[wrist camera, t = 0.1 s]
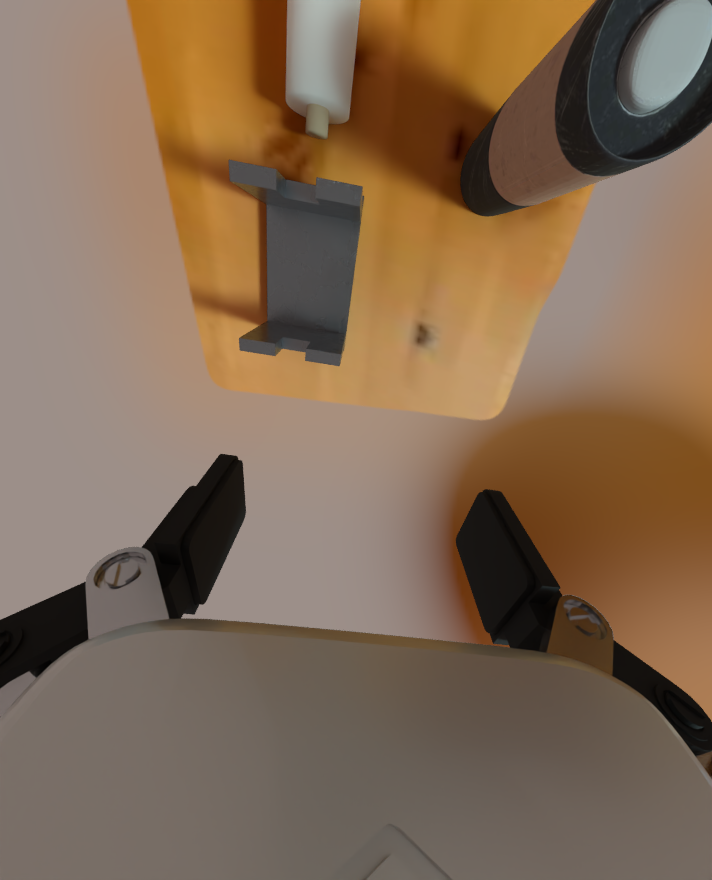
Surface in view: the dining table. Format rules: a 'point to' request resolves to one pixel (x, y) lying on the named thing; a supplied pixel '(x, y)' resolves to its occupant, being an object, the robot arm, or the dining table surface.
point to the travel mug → (597, 105)
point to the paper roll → (321, 61)
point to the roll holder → (304, 262)
